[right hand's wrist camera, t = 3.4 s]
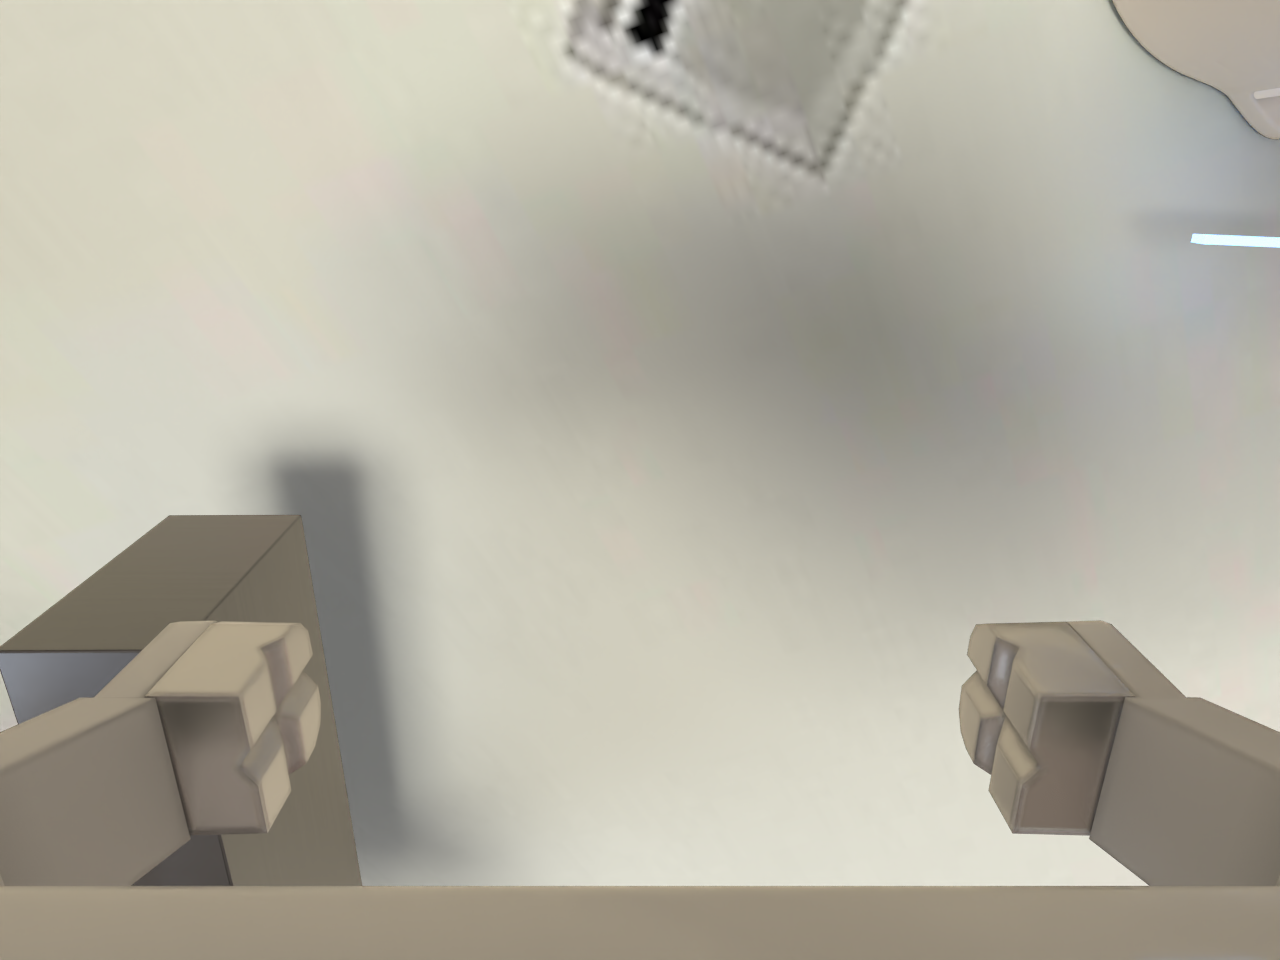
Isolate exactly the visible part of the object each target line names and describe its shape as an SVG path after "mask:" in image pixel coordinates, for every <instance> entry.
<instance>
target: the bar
mask: <svg viewBox="0 0 1280 960" xmlns="http://www.w3.org/2000/svg"><path fill="white" fill-rule="evenodd" d="M180 621H217V622H221V621H228V622H280V623H301V624H302V625H303V626H304V627H305V628H306V629H307V630H308V633H309V638H310V642H311V647H312V652H313V655H312V657H311V658H310V660H309V662H308V663H307V665H306V666H305V668H304V669H303V671H304V672H305V673H306V674H307V675H308V676H309V677H310V678H311V679H312V680H313V681H314V682H315V683H316V684H317V685H318V688H319V694H320V701H321V723H320V728H319V732H318V736H317V741H316V745H315V748H314V750H313V751H312V753H311V755H310V757H309V759H308V761H307V763H306V764H305V765H303V766H302V767H300V768H299V769H297V770H296V771H294V772H293V773H291V774H289V780H290V785H291V792H290V794H289V796H288V798H287V799H286V801H285V803H284V805H283V807H282V808H281V810H280V812H279V814H278V815H277V817H276V819H275V821H274V823H273V824H272V826H271V828H270V830H269V832H268V833H260V834H225V835H190V840H189V841H188V842H186V843H185V844H184V845H183V846H181V847H180V848H179V849H177V850H176V851H175V852H174V853H172V854H171V855H170V856H168V857H167V858H166V859H165V860H163V861H162V862H161V863H159V864H158V865H157V866H156V867H154V868H153V869H152V870H150V871H149V872H148V873H147V874H145V875H144V876H143V877H141V878H140V879H139V880H137V881H136V882H135V883H134V884H132V885H131V886H362V882H361V876H360V870H359V863H358V857H357V851H356V845H355V839H354V833H353V827H352V821H351V815H350V809H349V803H348V797H347V791H346V785H345V779H344V772H343V766H342V760H341V754H340V748H339V742H338V736H337V730H336V724H335V718H334V712H333V706H332V700H331V694H330V688H329V681H328V675H327V669H326V663H325V657H324V651H323V645H322V639H321V633H320V627H319V621H318V615H317V609H316V603H315V597H314V590H313V584H312V578H311V572H310V566H309V560H308V554H307V548H306V542H305V536H304V530H303V524H302V518H301V515H170V516H168V517H167V518H165V519H164V520H163V521H161V522H160V523H159V524H158V525H156V526H155V527H154V528H152V529H151V530H150V531H149V532H147V533H146V534H145V535H143V536H142V537H141V538H140V539H138V540H137V541H136V542H134V543H133V544H132V545H130V546H129V547H128V548H127V549H125V550H124V551H123V552H121V553H120V554H119V555H118V556H116V557H115V558H114V559H112V560H111V561H110V562H109V563H107V564H106V565H105V566H103V567H102V568H101V569H100V570H98V571H97V572H96V573H94V574H93V575H92V576H91V577H89V578H88V579H87V580H85V581H84V582H83V583H82V584H80V585H79V586H78V587H76V588H75V589H74V590H72V591H71V592H70V593H69V594H67V595H66V596H65V597H63V598H62V599H61V600H60V601H58V602H57V603H56V604H54V605H53V606H52V607H51V608H49V609H48V610H47V611H45V612H44V613H43V614H42V615H40V616H39V617H38V618H36V619H35V620H34V621H33V622H31V623H30V624H29V625H27V626H26V627H25V628H23V629H22V630H21V631H20V632H18V633H17V634H16V635H14V636H13V637H12V638H11V639H9V640H8V641H7V642H5V643H4V644H3V645H2V646H0V671H1V674H2V677H3V680H4V683H5V686H6V689H7V692H8V695H9V698H10V701H11V704H12V707H13V710H14V713H15V716H16V719H17V722H18V724H20V723H23V722H25V721H27V720H30V719H32V718H34V717H37V716H39V715H41V714H43V713H46V712H48V711H50V710H53V709H55V708H57V707H60V706H62V705H64V704H66V703H69V702H71V701H73V700H76V699H78V698H94V697H95V696H96V695H97V694H98V693H99V692H100V691H101V690H102V689H103V688H104V687H105V686H106V685H107V684H108V683H109V682H110V681H111V680H112V679H113V678H114V677H115V676H116V675H117V674H118V673H119V672H120V671H121V670H122V669H123V668H124V667H125V666H127V665H128V664H129V663H130V662H131V661H132V660H133V659H134V658H135V657H136V656H137V655H138V654H139V653H140V652H141V651H142V650H143V649H144V648H145V647H146V646H147V645H148V644H149V643H150V642H151V641H152V640H153V639H154V638H155V637H156V636H157V635H158V634H159V633H160V632H161V631H162V630H163V629H164V628H165V627H166V626H167V625H168V624H169V623H174V622H180Z"/></svg>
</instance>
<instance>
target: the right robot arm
mask: <svg viewBox="0 0 1280 960" xmlns="http://www.w3.org/2000/svg"><path fill="white" fill-rule="evenodd" d="M1112 1H1113V3H1114V5H1115V7H1116V9H1117V11H1118V13H1119V15H1120V17H1121V18H1122V20H1123V22H1124V23H1125V25H1126V26H1127V28H1128V29H1129V31H1130V32H1131V33H1132V35H1133V36H1134V37H1135V38H1136V39H1137V40H1138V42H1139V43H1140V44H1141V45H1142V46H1143V47H1144V48H1145V49H1146V50H1147V51H1148V52H1149V53H1151V54H1152V55H1153V56H1154V57H1155V58H1157V59H1158V60H1159V61H1161V62H1162V63H1164V64H1165V65H1167V66H1168V67H1170V68H1171V69H1173V70H1175V71H1177V72H1179V73H1181V74H1183V75H1186V76H1188V77H1190V78H1193V79H1195V80H1198V81H1200V82H1203V83H1205V84H1208V85H1210V86H1212V87H1214V88H1216V89H1218V90H1220V91H1221V92H1223V93H1224V94H1226V95H1227V96H1228V97H1229V98H1230V100H1231V101H1232V103H1233V104H1234V105H1235V107H1236V108H1237V109H1238V110H1239V112H1240V113H1241V114H1242V116H1243V117H1244V118H1245V119H1246V120H1247V122H1248V123H1249V124H1250V125H1251V126H1252V127H1253V128H1254V129H1255V130H1256V131H1257V132H1259V133H1260V134H1261V135H1263V136H1265V137H1267V138H1270V139H1280V0H1112ZM1191 242H1193V243H1200V244H1214V245H1237V246H1261V247H1280V238H1276V237H1253V236H1229V235H1206V234H1193V236H1192V240H1191ZM312 655H313V652H312V647H311V642H310V638H309V633H308V630H307V629H306V628H305V627H304V626H303V625H302V624H301V623H280V622H228V621H221V622H217V621H180V622H174V623H169V624H168V625H167V626H166V627H165V628H164V629H163V630H162V631H161V632H160V633H159V634H158V635H157V636H156V637H155V638H154V639H153V640H152V641H151V642H150V643H149V644H148V645H147V646H146V647H145V648H144V649H143V650H142V651H141V652H140V653H139V654H138V655H137V656H136V657H135V658H134V659H133V660H132V661H131V662H130V663H129V664H128V665H127V666H125V667H124V668H123V669H122V670H121V671H120V672H119V673H118V674H117V675H116V676H115V677H114V678H113V679H112V680H111V681H110V682H109V683H108V684H107V685H106V686H105V687H104V688H103V689H102V690H101V691H100V692H99V693H98V694H97V695H96V696H95V697H94V698H78V699H76V700H73V701H71V702H69V703H66V704H64V705H62V706H60V707H57V708H55V709H53V710H50V711H48V712H46V713H43V714H41V715H39V716H37V717H34V718H32V719H30V720H27V721H25V722H23V723H20V724H18V725H16V726H14V727H11V728H9V729H7V730H4V731H2V732H0V960H1280V732H1278V731H1275V730H1273V729H1271V728H1269V727H1266V726H1264V725H1262V724H1259V723H1257V722H1255V721H1252V720H1250V719H1248V718H1246V717H1243V716H1241V715H1239V714H1236V713H1234V712H1232V711H1230V710H1227V709H1225V708H1223V707H1220V706H1218V705H1216V704H1214V703H1211V702H1209V701H1207V700H1204V699H1202V698H1186V697H1185V696H1184V695H1183V694H1182V693H1181V692H1180V691H1179V690H1178V689H1177V688H1176V687H1175V686H1174V685H1173V684H1172V683H1171V682H1170V681H1169V680H1168V679H1167V678H1166V677H1165V676H1164V675H1163V674H1162V673H1161V672H1160V671H1159V670H1158V669H1157V668H1156V667H1155V666H1154V665H1153V664H1152V663H1151V662H1150V661H1149V660H1148V659H1146V658H1145V657H1144V656H1143V655H1142V654H1141V653H1140V652H1139V651H1138V650H1137V649H1136V648H1135V647H1134V646H1133V645H1132V644H1131V643H1130V642H1129V641H1128V640H1127V639H1126V638H1125V637H1124V636H1123V635H1122V634H1121V633H1120V632H1119V631H1118V630H1117V629H1116V628H1115V627H1114V626H1113V625H1112V624H1109V623H1106V622H1104V621H1101V620H1098V621H1073V622H1035V623H994V624H977V625H975V628H974V630H973V632H972V634H971V636H970V641H969V646H968V652H967V655H968V657H969V658H970V660H971V662H972V663H973V665H974V666H975V668H976V669H977V671H976V672H975V673H974V674H973V675H972V676H971V677H970V678H969V679H968V680H967V681H966V682H965V683H964V684H963V685H962V688H961V696H960V704H959V718H960V729H961V734H962V738H963V741H964V744H965V747H966V750H967V752H968V754H969V755H970V757H971V759H972V761H973V763H974V764H975V765H977V766H978V767H980V768H981V769H983V770H984V771H986V772H987V773H989V774H991V780H990V785H989V792H990V794H991V796H992V798H993V799H994V801H995V803H996V805H997V806H998V808H999V810H1000V812H1001V814H1002V815H1003V817H1004V819H1005V821H1006V823H1007V824H1008V826H1009V828H1010V830H1011V831H1012V833H1017V834H1054V835H1090V838H1089V839H1090V840H1091V841H1093V842H1094V843H1095V844H1096V845H1098V846H1099V847H1100V848H1102V849H1103V850H1104V851H1105V852H1107V853H1108V854H1109V855H1111V856H1112V857H1113V858H1114V859H1116V860H1117V861H1118V862H1120V863H1121V864H1122V865H1123V866H1125V867H1126V868H1127V869H1129V870H1130V871H1131V872H1132V873H1134V874H1135V875H1136V876H1138V877H1139V878H1140V879H1141V880H1143V881H1144V882H1145V883H1147V884H1148V885H1149V886H131V885H132V884H134V883H135V882H136V881H137V880H139V879H140V878H141V877H143V876H144V875H145V874H147V873H148V872H149V871H150V870H152V869H153V868H154V867H156V866H157V865H158V864H159V863H161V862H162V861H163V860H165V859H166V858H167V857H168V856H170V855H171V854H172V853H174V852H175V851H176V850H177V849H179V848H180V847H181V846H183V845H184V844H185V843H186V842H188V841H189V840H190V835H225V834H260V833H268V832H269V830H270V828H271V826H272V824H273V823H274V821H275V819H276V817H277V815H278V814H279V812H280V810H281V808H282V807H283V805H284V803H285V801H286V799H287V798H288V796H289V794H290V792H291V785H290V780H289V774H291V773H293V772H294V771H296V770H297V769H299V768H300V767H302V766H303V765H305V764H306V763H307V761H308V759H309V757H310V755H311V753H312V751H313V750H314V748H315V745H316V741H317V736H318V732H319V728H320V723H321V701H320V694H319V688H318V685H317V684H316V683H315V682H314V681H313V680H312V679H311V678H310V677H309V676H308V675H307V674H306V673H305V672H304V671H303V669H304V668H305V666H306V665H307V663H308V662H309V660H310V658H311V657H312Z"/></svg>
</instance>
